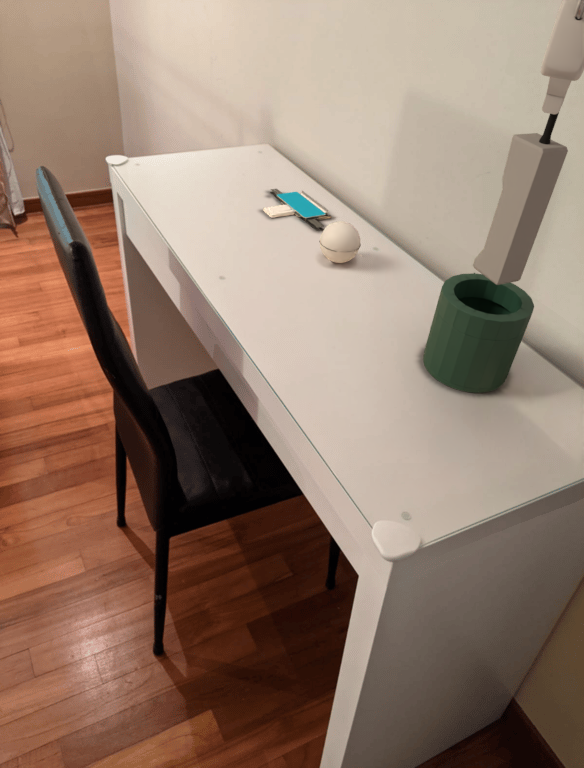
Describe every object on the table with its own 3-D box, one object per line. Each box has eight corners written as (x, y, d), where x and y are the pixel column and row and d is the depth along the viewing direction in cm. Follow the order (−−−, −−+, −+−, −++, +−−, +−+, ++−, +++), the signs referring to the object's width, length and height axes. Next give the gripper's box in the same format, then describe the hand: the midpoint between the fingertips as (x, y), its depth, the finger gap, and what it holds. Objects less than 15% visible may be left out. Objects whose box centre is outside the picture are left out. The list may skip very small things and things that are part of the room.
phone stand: (245, 195, 131) (246, 188, 130) (293, 189, 136) (294, 181, 135) (291, 235, 118) (292, 227, 117) (342, 226, 123) (343, 218, 122)
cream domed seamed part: (310, 254, 113) (314, 216, 108) (345, 249, 116) (350, 212, 111) (335, 280, 106) (341, 241, 102) (372, 274, 109) (379, 236, 104)
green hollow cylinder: (512, 357, 93) (539, 288, 85) (498, 403, 84) (527, 331, 76) (434, 333, 96) (453, 265, 88) (413, 375, 87) (432, 303, 79)
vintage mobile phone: (494, 263, 80) (564, 52, 65) (519, 282, 77) (600, 63, 61) (471, 267, 79) (538, 51, 63) (496, 286, 76) (573, 63, 60)
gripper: (640, -39, 48) (574, 141, 57) (640, -48, 63) (587, 95, 71) (558, -49, 50) (506, 127, 58) (576, -56, 64) (533, 85, 73)
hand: (551, 109), depth 65 cm, fingers closed on vintage mobile phone
